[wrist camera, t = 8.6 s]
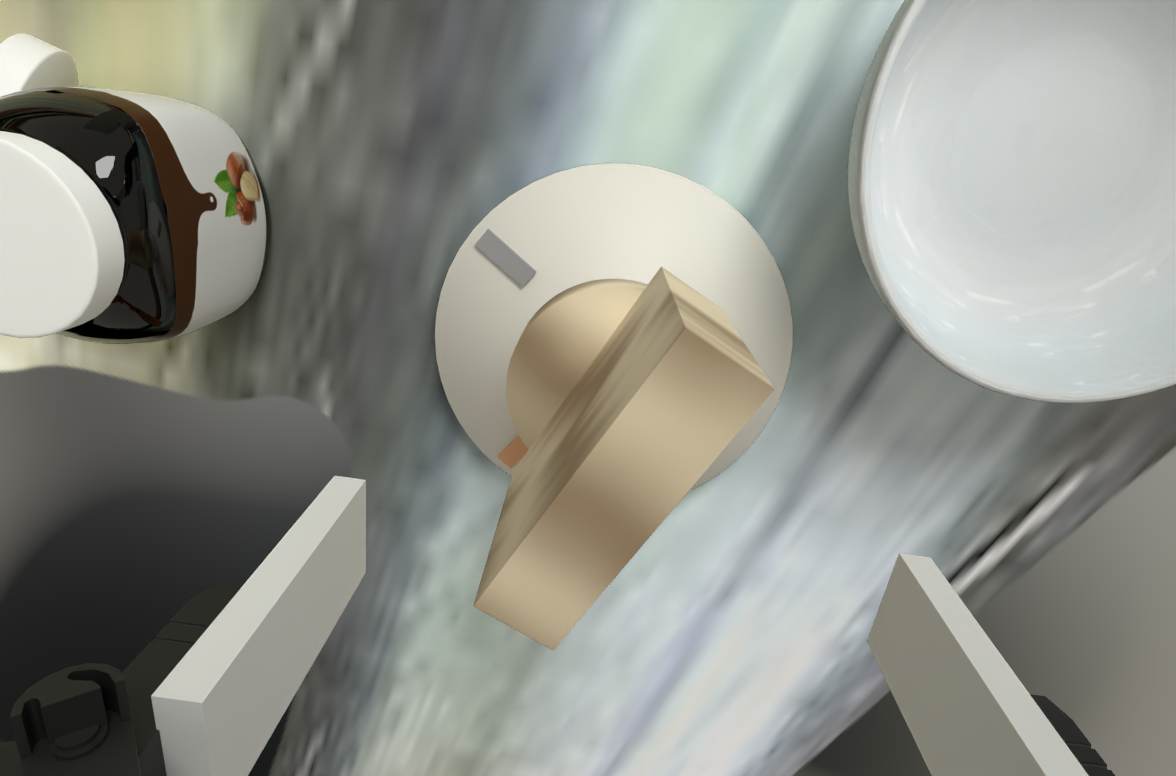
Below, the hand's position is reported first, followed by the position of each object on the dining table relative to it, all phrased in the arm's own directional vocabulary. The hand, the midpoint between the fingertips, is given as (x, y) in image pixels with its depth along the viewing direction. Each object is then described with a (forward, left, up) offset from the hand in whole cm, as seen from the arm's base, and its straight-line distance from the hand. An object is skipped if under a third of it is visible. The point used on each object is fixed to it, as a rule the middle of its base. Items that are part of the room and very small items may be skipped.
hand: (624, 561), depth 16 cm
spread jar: (+22, -9, -20) cm, 31 cm away
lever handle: (+1, +1, -14) cm, 14 cm away
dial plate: (0, 0, -19) cm, 19 cm away
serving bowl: (-20, -9, -20) cm, 29 cm away
